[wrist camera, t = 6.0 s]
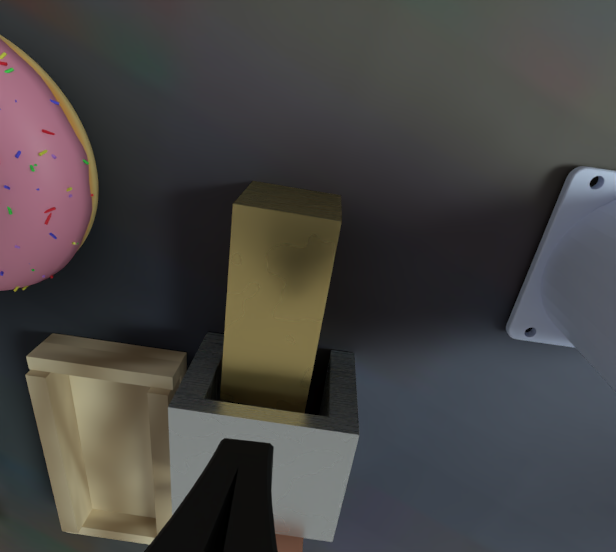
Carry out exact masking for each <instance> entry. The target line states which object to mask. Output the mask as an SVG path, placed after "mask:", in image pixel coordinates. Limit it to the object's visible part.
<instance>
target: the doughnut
mask: <svg viewBox="0 0 616 552" xmlns="http://www.w3.org/2000/svg"><path fill="white" fill-rule="evenodd" d="M97 205H98V174H97V167H96V162H95V158H94V154H93V151H92V147H91V144H90V142H89V139H88V136H87V134H86V132H85V129H84V127H83V125H82V123H81V121H80V119H79V117H78V115H77V114H76V112H75V110H74V108H73V107H72V105H71V104H70V102H69V101H68V99H67V98H66V96H65V95H64V94H63V92H62V91H61V89H60V88H59V87H58V86H57V84H56V83H55V82H54V81H53V80H52V79H51V77H50V76H49V75H48V74H47V73H46V72H45V71H44V70H43V69H42V68H41V67H40V66H39V65H38V64H37V63H36V62H35V61H34V60H33V59H32V58H31V57H29V56H28V55H27V54H26V53H25V52H24V51H22V50H21V49H20V48H18V47H17V46H16V45H15V44H13V43H12V42H10V41H9V40H7V39H6V38H4V37H3V36H1V35H0V291H4V290H12V289H14V290H13V291H15V292H16V291H17V289H18V288H21V287H23V288H22V290H25V289H26V288H27V287H28V286H29V285H33V284H36V283H39V282H41V281H43V280H45V279H47V278H49V277H51V278H54V277H53V275H54V274H56V273H57V272H59V271H60V270H61V269H63V268H64V267H65V266H66V265H67V264H68V263H69V261H70V260H71V259H72V258H73V256H74V255H75V253H76V252H77V251H78V250H79V248H80V247H81V246H82V244H83V243H84V241H85V240H86V238H87V236H88V234H89V232H90V230H91V228H92V225H93V222H94V219H95V215H96V211H97Z"/></svg>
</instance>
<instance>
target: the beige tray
mask: <svg viewBox="0 0 616 552" xmlns="http://www.w3.org/2000/svg"><path fill="white" fill-rule="evenodd" d="M26 359H27V363H28V367H29V369H30V371H29V372H28V373H27V374H26V375H25V376H26V380H27V384H28V389H29V393H30V397H31V401H32V406H33V410H34V414H35V418H36V422H37V427H38V431H39V435H40V439H41V444H42V448H43V452H44V456H45V460H46V465H47V469H48V473H49V477H50V482H51V486H52V490H53V494H54V498H55V503H56V507H57V511H58V515H59V520H60V524H61V528H62V531H65V532H68V533H75V534H82V535H89V536H95V537H102V538H109V539H116V540H123V541H129V542H136V543H143V544H151V542H152V541H153V540H154V538H155V537H156V536H157V535H158V533H159V532H160V531H161V529H162V528H163V527H164V526H165V524H166V523H167V522H168V521H169V519H170V518H171V517H172V501H171V475H170V449H169V423H168V406H169V404H170V402H171V400H172V398H173V397H174V395H175V393H176V391H177V389H178V387H179V385H180V383H181V381H182V379H183V378H184V376H185V374H186V372H187V353H186V352H179V351H172V350H166V349H159V348H152V347H145V346H138V345H131V344H124V343H117V342H110V341H103V340H96V339H89V338H82V337H75V336H68V335H62V334H55V333H52V334H51V335H50V336H49V337H48V338H46V339H45V340H44V341H43V342H42V343H41V344H40V345H38V346H37V347H36V348H35V349H34V350H33V351H31V352H30V353H29V354H28V355H27V356H26Z"/></svg>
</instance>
